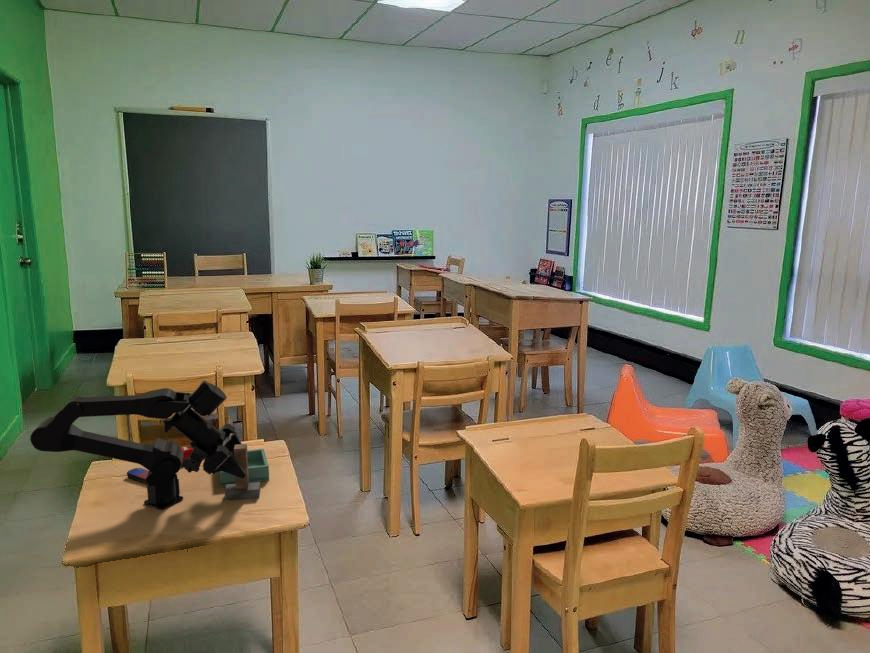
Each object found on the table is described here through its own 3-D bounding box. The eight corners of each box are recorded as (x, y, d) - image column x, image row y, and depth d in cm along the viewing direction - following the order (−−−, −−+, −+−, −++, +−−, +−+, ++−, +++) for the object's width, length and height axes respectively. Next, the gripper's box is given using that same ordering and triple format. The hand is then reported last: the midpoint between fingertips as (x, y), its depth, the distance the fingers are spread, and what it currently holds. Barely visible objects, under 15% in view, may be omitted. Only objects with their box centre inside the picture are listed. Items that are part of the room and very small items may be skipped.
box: (269, 480, 168) (268, 465, 167) (220, 486, 163) (220, 472, 163) (264, 462, 179) (263, 448, 178) (218, 468, 174) (217, 454, 174)
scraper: (225, 500, 156) (222, 450, 154) (227, 493, 160) (224, 444, 157) (259, 498, 158) (256, 448, 155) (260, 490, 162) (258, 442, 159)
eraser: (167, 482, 166) (167, 476, 166) (154, 489, 163) (154, 482, 162) (138, 472, 171) (138, 466, 171) (125, 477, 168) (124, 471, 168)
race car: (163, 473, 171) (162, 459, 171) (154, 467, 175) (153, 453, 174) (209, 458, 181) (208, 445, 180) (200, 453, 184) (199, 440, 184)
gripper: (179, 437, 163) (227, 475, 167) (164, 468, 145) (218, 510, 149) (211, 406, 163) (257, 445, 167) (199, 434, 145) (252, 476, 149)
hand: (246, 468), depth 158 cm, fingers open, 9 cm apart
